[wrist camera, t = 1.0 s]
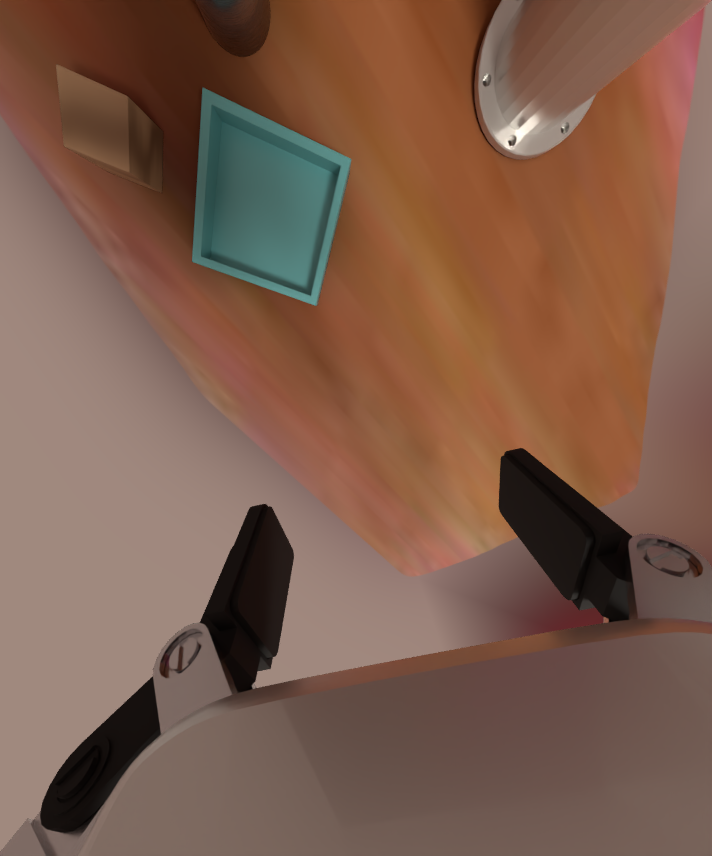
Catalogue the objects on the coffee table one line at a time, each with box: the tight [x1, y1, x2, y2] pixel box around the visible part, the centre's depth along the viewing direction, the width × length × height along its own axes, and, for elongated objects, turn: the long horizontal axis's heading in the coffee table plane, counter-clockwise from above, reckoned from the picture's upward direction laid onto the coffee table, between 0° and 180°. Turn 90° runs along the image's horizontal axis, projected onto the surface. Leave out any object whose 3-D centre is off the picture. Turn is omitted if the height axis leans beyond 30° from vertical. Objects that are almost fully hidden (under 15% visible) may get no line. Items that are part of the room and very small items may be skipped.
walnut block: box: [56, 64, 163, 193], centre depth 24 cm, size 5×5×5 cm
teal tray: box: [192, 88, 351, 306], centre depth 28 cm, size 14×14×3 cm
